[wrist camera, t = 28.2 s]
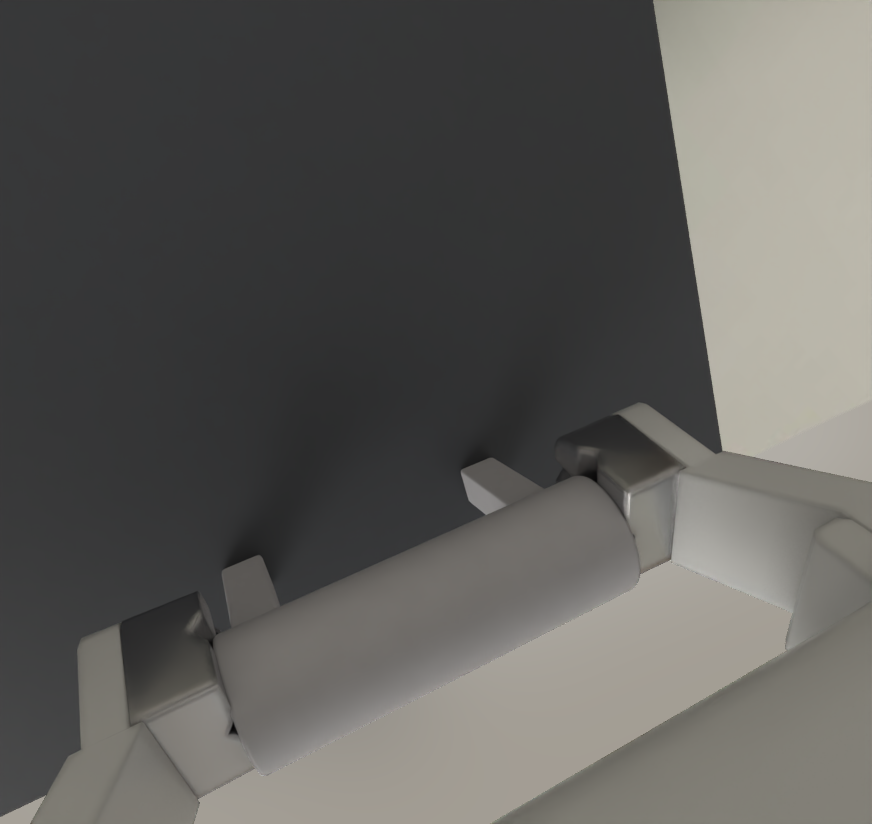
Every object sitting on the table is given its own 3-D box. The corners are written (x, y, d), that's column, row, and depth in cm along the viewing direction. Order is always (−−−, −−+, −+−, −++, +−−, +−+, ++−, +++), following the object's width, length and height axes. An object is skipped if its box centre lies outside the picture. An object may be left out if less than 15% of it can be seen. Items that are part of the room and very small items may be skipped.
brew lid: (701, 462, 16) (916, 544, 11) (-33, 804, 12) (-157, 1152, 7) (574, -310, 12) (838, -677, 7) (-670, -210, 7) (-2029, -971, 3)
